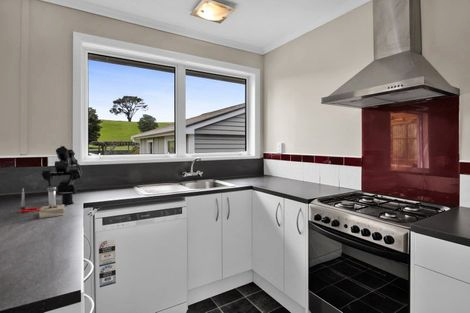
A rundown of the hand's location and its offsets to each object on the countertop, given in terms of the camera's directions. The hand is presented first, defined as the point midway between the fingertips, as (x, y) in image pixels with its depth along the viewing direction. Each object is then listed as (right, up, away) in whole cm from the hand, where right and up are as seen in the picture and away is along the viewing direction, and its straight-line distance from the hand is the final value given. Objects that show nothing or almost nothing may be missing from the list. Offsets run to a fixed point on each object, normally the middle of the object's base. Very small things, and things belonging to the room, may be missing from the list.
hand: (59, 185), depth 146 cm
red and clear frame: (-14, -14, -2) cm, 20 cm away
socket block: (+4, -14, -11) cm, 18 cm away
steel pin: (+4, -14, -11) cm, 18 cm away
